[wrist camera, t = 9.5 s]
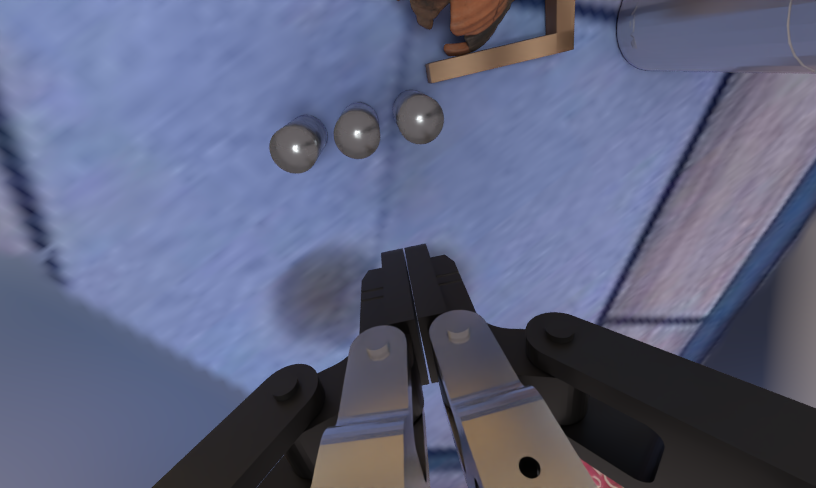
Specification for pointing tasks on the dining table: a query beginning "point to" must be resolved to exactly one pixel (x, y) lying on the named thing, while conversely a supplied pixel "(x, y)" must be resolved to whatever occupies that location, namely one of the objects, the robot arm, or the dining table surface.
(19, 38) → the dining table surface
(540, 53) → the walnut frame
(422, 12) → the pottery mug
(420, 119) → the metal posts
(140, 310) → the dining table surface
